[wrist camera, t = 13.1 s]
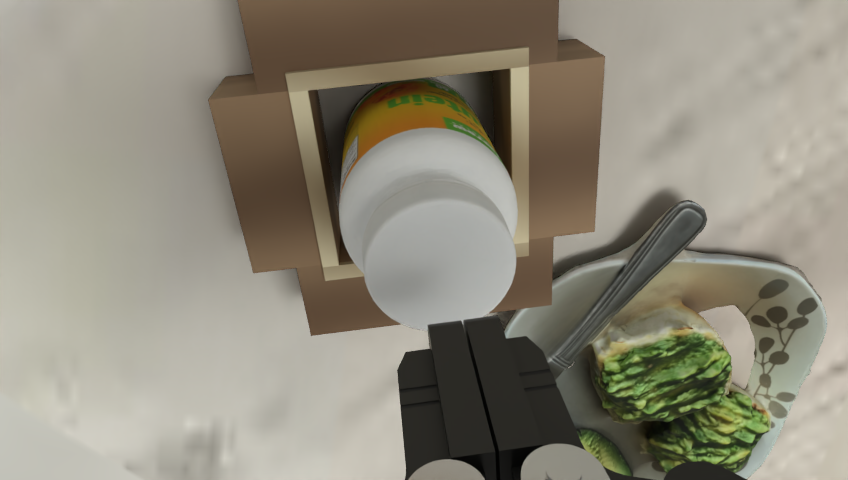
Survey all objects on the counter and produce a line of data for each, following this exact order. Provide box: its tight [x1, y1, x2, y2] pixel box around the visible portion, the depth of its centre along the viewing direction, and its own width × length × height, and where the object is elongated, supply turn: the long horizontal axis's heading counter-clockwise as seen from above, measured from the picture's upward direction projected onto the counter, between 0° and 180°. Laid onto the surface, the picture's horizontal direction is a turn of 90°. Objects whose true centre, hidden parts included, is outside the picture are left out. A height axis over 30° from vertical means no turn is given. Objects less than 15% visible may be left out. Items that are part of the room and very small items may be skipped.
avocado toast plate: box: [504, 200, 827, 480], centre depth 29 cm, size 19×18×5 cm
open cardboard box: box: [208, 0, 605, 336], centre depth 23 cm, size 13×13×3 cm
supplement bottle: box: [339, 78, 518, 331], centre depth 20 cm, size 5×5×10 cm
